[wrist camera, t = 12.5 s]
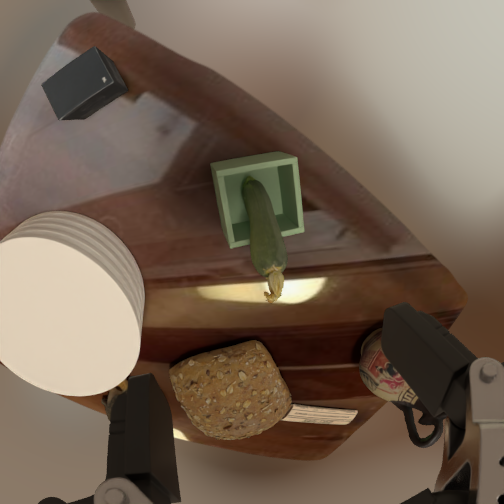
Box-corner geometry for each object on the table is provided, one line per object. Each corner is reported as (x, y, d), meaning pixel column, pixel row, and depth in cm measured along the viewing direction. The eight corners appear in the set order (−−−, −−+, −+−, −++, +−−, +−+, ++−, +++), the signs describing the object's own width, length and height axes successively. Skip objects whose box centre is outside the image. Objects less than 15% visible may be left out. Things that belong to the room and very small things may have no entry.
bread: (290, 393, 69) (307, 431, 58) (206, 423, 68) (214, 463, 57) (261, 320, 58) (280, 363, 47) (157, 359, 57) (157, 406, 46)
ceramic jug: (381, 304, 64) (469, 397, 38) (410, 329, 71) (484, 407, 44) (330, 360, 67) (394, 464, 41) (365, 377, 74) (424, 463, 47)
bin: (209, 163, 45) (216, 171, 38) (279, 151, 46) (297, 157, 40) (222, 229, 49) (230, 248, 43) (286, 215, 51) (304, 232, 44)
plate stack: (-6, 316, 45) (-29, 353, 35) (19, 183, 38) (-17, 202, 28) (117, 371, 56) (112, 415, 46) (171, 254, 49) (171, 291, 39)
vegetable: (270, 178, 47) (308, 296, 35) (254, 197, 49) (284, 314, 37) (246, 167, 44) (278, 290, 32) (230, 188, 47) (254, 309, 35)
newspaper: (356, 408, 80) (358, 413, 78) (341, 424, 81) (343, 428, 80) (292, 402, 71) (294, 407, 69) (277, 419, 73) (279, 424, 71)
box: (112, 60, 35) (95, 44, 26) (129, 91, 38) (115, 82, 28) (67, 90, 35) (39, 84, 26) (83, 120, 38) (58, 121, 28)
